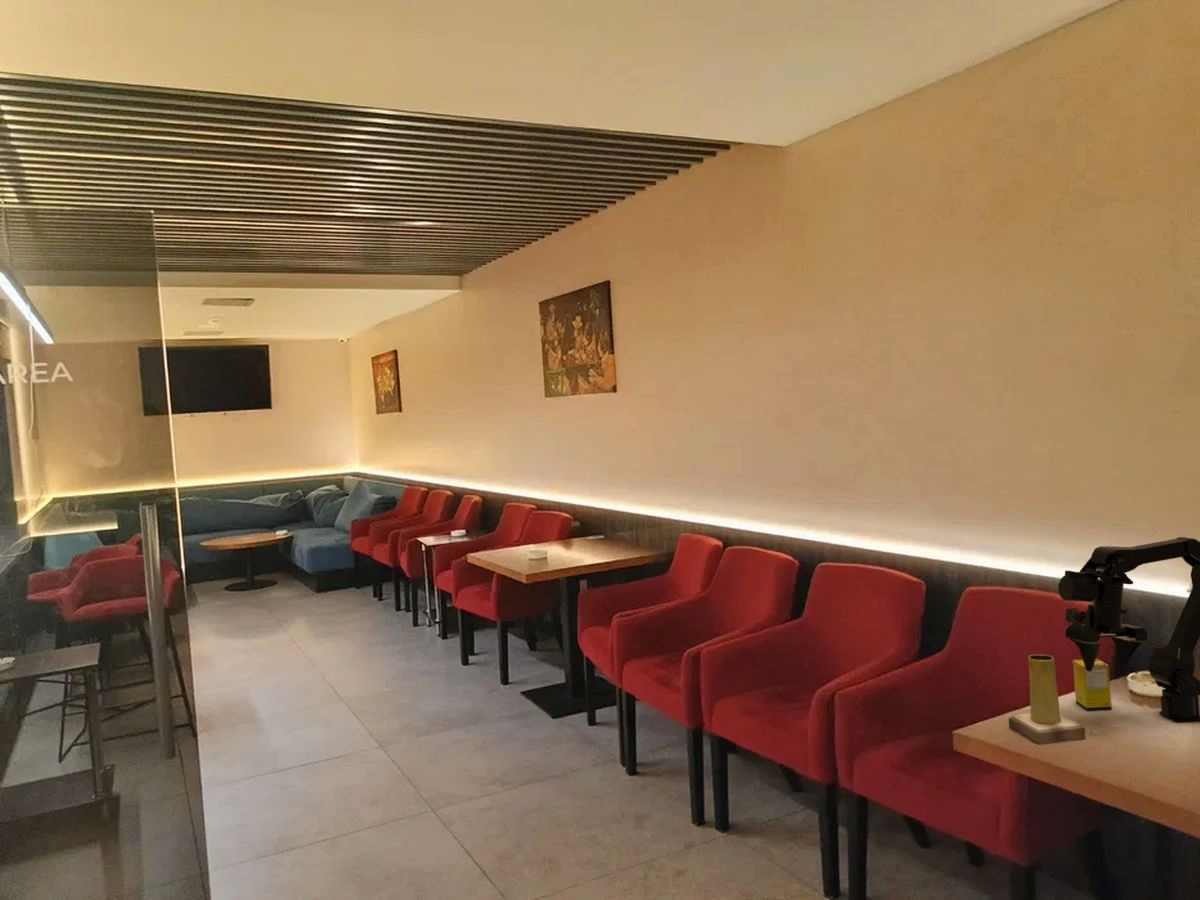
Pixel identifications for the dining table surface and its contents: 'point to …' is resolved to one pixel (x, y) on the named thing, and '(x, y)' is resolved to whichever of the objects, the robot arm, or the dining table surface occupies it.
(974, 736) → the dining table surface
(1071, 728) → the stand
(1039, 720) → the vase
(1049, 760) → the dining table surface
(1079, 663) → the supplement box
